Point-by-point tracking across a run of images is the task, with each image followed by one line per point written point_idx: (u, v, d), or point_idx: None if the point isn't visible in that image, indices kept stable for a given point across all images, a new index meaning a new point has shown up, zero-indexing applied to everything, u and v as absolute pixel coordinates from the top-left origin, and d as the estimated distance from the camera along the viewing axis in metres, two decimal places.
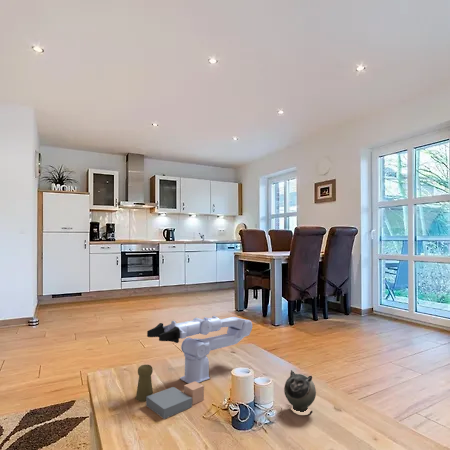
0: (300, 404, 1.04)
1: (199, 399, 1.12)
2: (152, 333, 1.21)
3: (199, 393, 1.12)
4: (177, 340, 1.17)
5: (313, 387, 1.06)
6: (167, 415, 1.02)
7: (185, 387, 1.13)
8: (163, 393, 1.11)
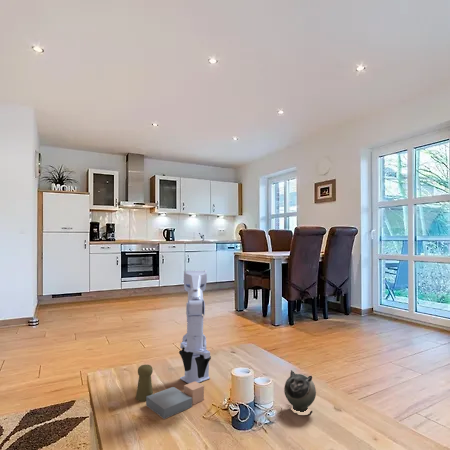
0: (300, 404, 1.04)
1: (199, 399, 1.12)
2: (188, 365, 1.17)
3: (199, 393, 1.12)
4: (209, 358, 1.11)
5: (313, 387, 1.06)
6: (167, 415, 1.02)
7: (185, 387, 1.13)
8: (163, 393, 1.11)
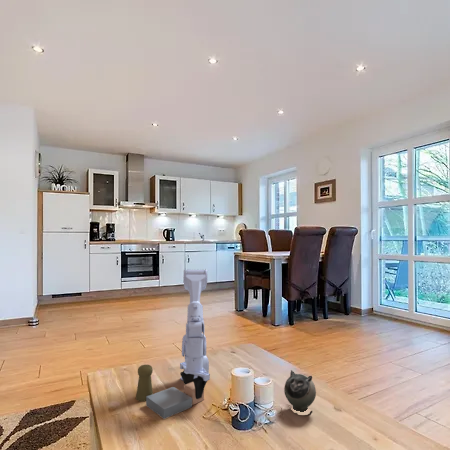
0: (300, 404, 1.04)
1: (199, 399, 1.12)
2: None
3: None
4: None
5: (313, 387, 1.06)
6: (167, 415, 1.02)
7: (185, 387, 1.13)
8: (163, 393, 1.11)
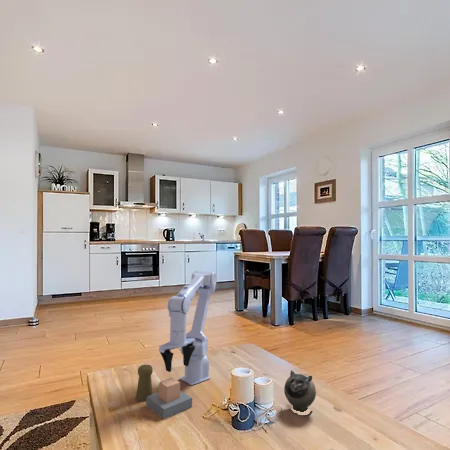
0: (300, 404, 1.04)
1: (163, 397, 1.07)
2: (185, 360, 1.19)
3: (163, 391, 1.07)
4: (166, 355, 1.11)
5: (313, 387, 1.06)
6: (167, 415, 1.02)
7: None
8: None
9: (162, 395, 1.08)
